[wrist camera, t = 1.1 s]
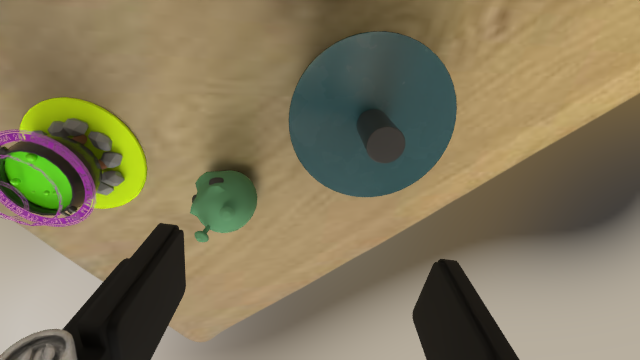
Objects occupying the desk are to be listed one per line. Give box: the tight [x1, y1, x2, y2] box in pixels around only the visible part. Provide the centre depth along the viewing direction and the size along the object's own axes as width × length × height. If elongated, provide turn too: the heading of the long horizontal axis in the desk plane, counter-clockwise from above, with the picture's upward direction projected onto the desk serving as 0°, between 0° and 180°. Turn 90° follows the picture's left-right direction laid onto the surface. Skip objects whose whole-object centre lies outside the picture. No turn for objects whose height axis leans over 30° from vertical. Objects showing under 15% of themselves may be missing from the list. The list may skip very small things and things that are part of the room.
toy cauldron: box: [0, 97, 147, 227], centre depth 33 cm, size 15×15×11 cm
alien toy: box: [190, 170, 257, 242], centre depth 35 cm, size 7×8×10 cm
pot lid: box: [289, 31, 457, 197], centre depth 26 cm, size 16×16×7 cm
